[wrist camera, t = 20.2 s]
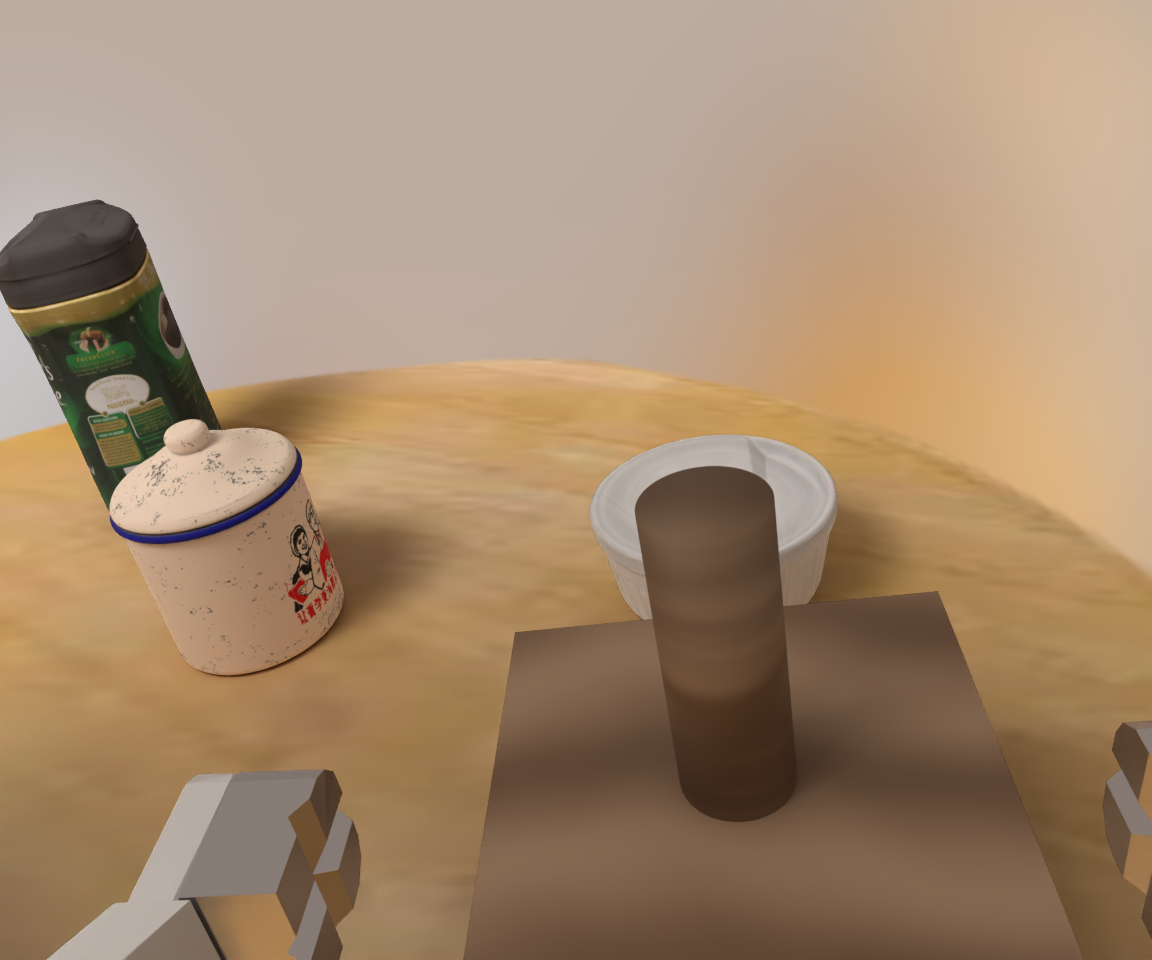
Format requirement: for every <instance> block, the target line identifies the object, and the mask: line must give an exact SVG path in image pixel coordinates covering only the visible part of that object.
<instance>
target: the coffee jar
mask: <svg viewBox="0 0 1152 960" xmlns="http://www.w3.org/2000/svg"><path fill="white" fill-rule="evenodd" d="M146 247H147V246H146V244H145V242H144V239H143V238H142V235H141V233H140V231H139V229H138V224H137V223H136V222H135V220H134V218H133V217H132V215H131V214H130V213H128V212H127V211H125V210H123V209H121V208H119V207H115V206H113V205H109V204H106V203H104V202H103V201H101V200H93V201H88V202H83V203H79V204H75V205H70V206H66V207H62V208H58V209H53V210H49V211H45V212H41V213H38V214H36V215H35V217H34V218H33V221H32V222H31V223H30V224H28V225H27V226H26V227H25V228H24V229H23V230H21V231H20V232H19V233H18V234H17V235H16V236H15V237H14V238H12V239H11V240H10V241H9V242H8V244H7V245H6V246H5V247H4V248H3V250H2V251H1V252H0V291H1V293H2V295H3V297H4V299H5V301H6V304H7V305H8V309H9V311H10V313H11V314H12V316H13V318H14V319H15V321H16V322H17V324H18V325H19V327H20V329H21V330H22V332H23V334H24V335H25V337H26V339H27V340H28V342H29V344H30V346H31V348H32V350H33V351H34V353H35V355H36V357H37V359H38V361H39V363H40V365H41V367H42V369H43V371H44V373H45V375H46V377H47V379H48V381H49V384H50V385H51V387H52V390H53V392H54V394H55V396H56V398H57V400H58V402H59V404H60V406H61V409H62V411H63V413H64V415H65V417H66V419H67V421H68V423H69V425H70V428H71V430H72V432H73V434H74V436H75V438H76V440H77V443H78V445H79V447H80V449H81V451H82V454H83V456H84V458H85V461H86V463H87V465H88V467H89V469H90V472H91V474H92V476H93V478H94V481H95V483H96V485H97V487H98V489H99V491H100V493H101V496H102V498H103V500H104V502H105V504H106V506H107V508H108V510H109V509H110V501H111V498H112V495H113V493H114V491H115V489H116V487H117V486H118V484H119V483H120V482H121V481H122V480H123V478H124V477H125V476H126V475H127V474H128V473H130V472H131V471H132V470H133V469H134V468H135V467H137V466H138V465H139V464H141V463H142V462H144V461H145V460H147V459H148V458H150V457H152V456H153V455H155V454H156V453H157V452H158V451H160V450H161V449H162V448H163V447H165V446H166V445H165V442H164V434H165V432H166V430H167V429H168V428H170V427H171V426H172V425H174V424H176V423H178V422H181V421H185V420H190V419H197V420H200V421H202V422H204V423H205V424H206V425H207V428H208V430H222V429H221V427H220V424H219V422H218V420H217V417H216V415H215V413H214V410H213V408H212V406H211V404H210V401H209V399H208V397H207V394H206V392H205V390H204V387H203V385H202V383H201V381H200V378H199V376H198V373H197V371H196V369H195V366H194V364H193V361H192V359H191V356H190V354H189V351H188V349H187V347H186V344H185V342H184V340H183V337H182V335H181V332H180V330H179V327H178V325H177V322H176V320H175V318H174V315H173V313H172V310H171V308H170V305H169V303H168V300H167V298H166V295H165V293H164V291H163V288H162V285H161V282H160V280H159V277H158V275H157V272H156V269H155V267H154V264H153V262H152V259H151V257H150V254H149V251H148V249H147V248H146ZM109 512H110V510H109Z"/></svg>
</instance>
